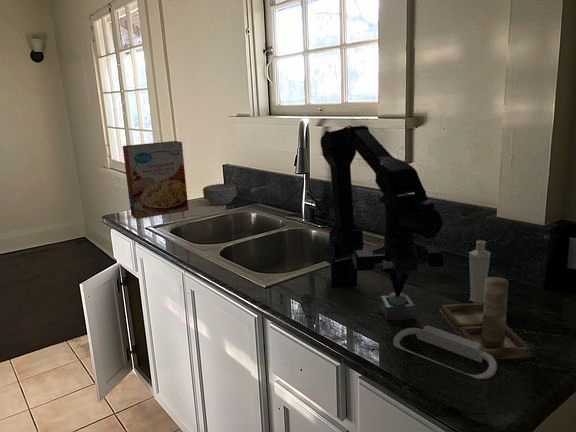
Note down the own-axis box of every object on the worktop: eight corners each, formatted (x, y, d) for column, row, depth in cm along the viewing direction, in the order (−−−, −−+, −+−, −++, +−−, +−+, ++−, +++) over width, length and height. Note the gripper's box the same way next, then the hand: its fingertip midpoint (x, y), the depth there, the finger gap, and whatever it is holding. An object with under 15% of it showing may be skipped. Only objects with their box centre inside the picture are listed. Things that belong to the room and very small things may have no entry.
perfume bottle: (478, 309, 112) (482, 246, 108) (463, 303, 116) (466, 241, 112) (493, 305, 114) (497, 242, 110) (478, 298, 118) (481, 237, 114)
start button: (390, 316, 108) (391, 299, 107) (387, 309, 111) (387, 292, 110) (407, 315, 108) (407, 298, 107) (403, 308, 111) (403, 291, 110)
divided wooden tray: (477, 364, 90) (477, 352, 90) (438, 314, 111) (439, 303, 110) (531, 361, 90) (532, 349, 90) (483, 311, 111) (484, 301, 110)
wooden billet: (486, 350, 93) (490, 285, 90) (478, 340, 97) (481, 277, 94) (507, 349, 93) (512, 284, 90) (498, 338, 97) (502, 276, 94)
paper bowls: (197, 204, 230) (195, 187, 228) (221, 198, 241) (220, 182, 239) (219, 208, 220) (218, 190, 218) (244, 201, 232) (242, 184, 230)
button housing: (386, 324, 107) (386, 307, 106) (380, 312, 113) (380, 296, 112) (414, 322, 107) (414, 305, 106) (406, 310, 113) (407, 294, 112)
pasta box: (136, 219, 208) (127, 147, 200) (131, 215, 214) (122, 145, 207) (188, 210, 219) (181, 142, 212) (181, 207, 226) (175, 140, 219)
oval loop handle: (386, 354, 98) (383, 339, 96) (409, 330, 102) (406, 316, 101) (484, 396, 84) (483, 379, 82) (506, 366, 88) (505, 350, 87)
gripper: (360, 240, 97) (361, 313, 101) (455, 235, 97) (452, 308, 101) (351, 224, 107) (352, 292, 111) (437, 220, 108) (435, 287, 112)
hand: (397, 295), depth 109 cm, fingers closed
